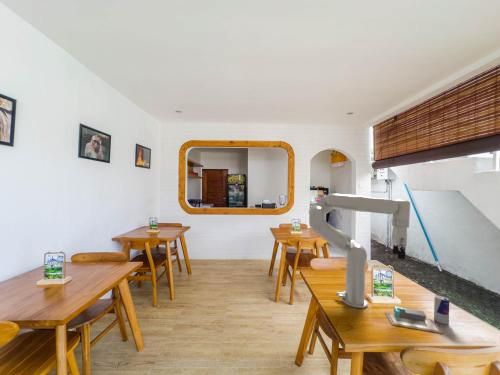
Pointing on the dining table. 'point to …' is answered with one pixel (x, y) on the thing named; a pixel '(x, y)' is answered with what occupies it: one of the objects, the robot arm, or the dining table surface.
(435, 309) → the energy drink
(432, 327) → the clipboard
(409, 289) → the dining table surface
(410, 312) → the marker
